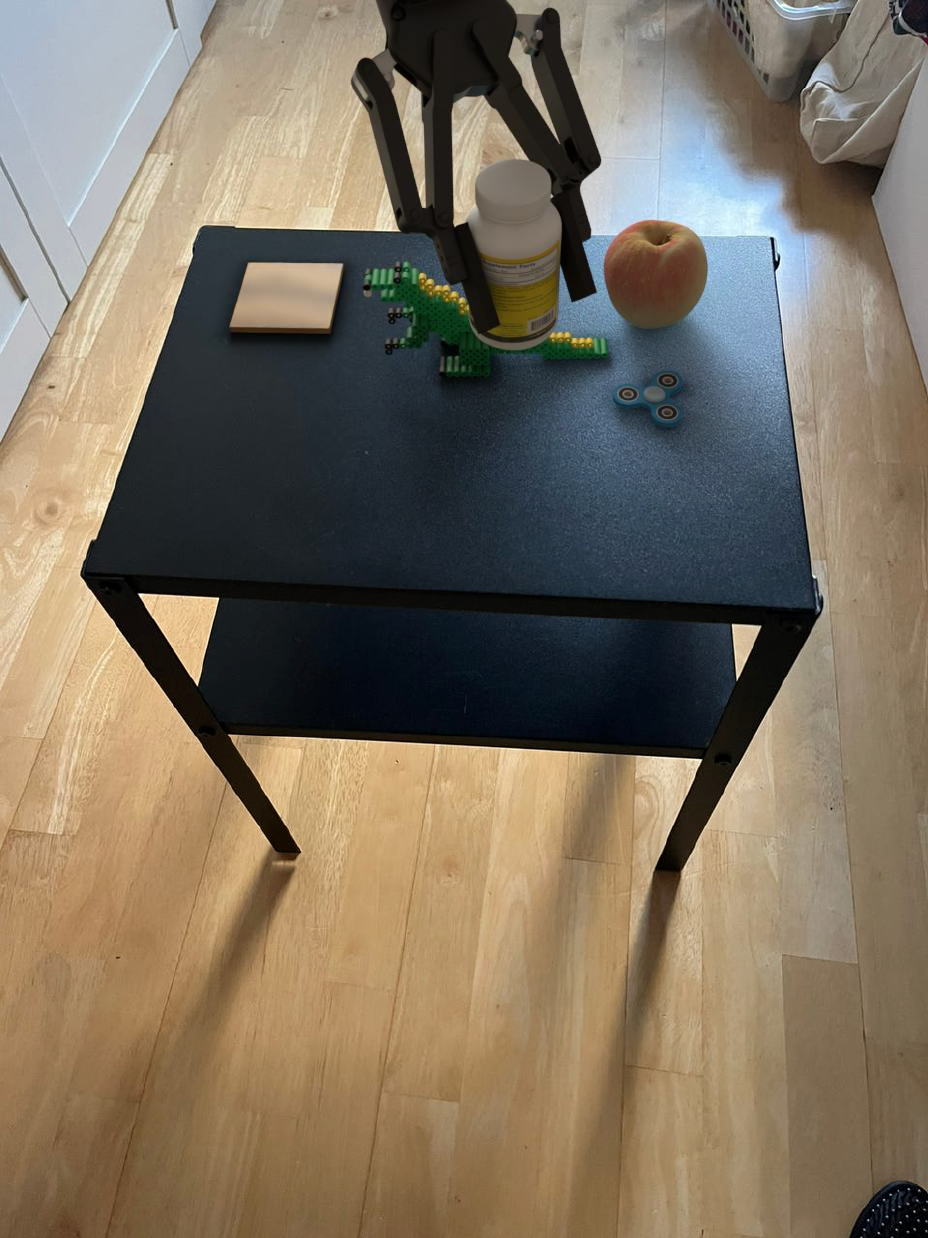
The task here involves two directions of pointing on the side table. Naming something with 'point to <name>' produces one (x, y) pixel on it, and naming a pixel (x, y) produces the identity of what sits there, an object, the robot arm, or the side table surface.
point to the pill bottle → (517, 251)
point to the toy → (653, 398)
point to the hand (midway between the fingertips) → (537, 312)
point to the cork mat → (287, 298)
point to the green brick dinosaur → (456, 324)
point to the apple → (655, 273)
